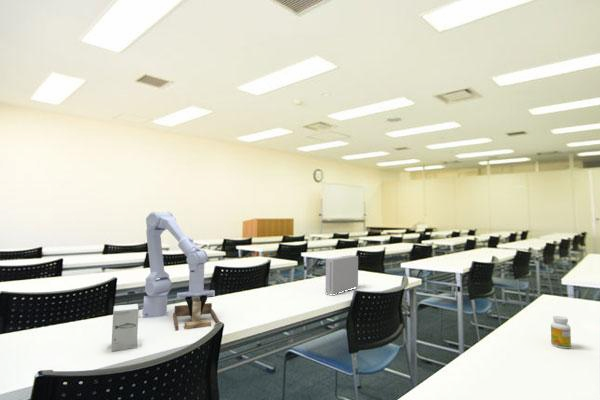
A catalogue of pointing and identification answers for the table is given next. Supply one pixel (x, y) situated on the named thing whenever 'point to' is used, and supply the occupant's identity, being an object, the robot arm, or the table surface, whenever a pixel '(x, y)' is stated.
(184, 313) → the walnut rack
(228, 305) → the table surface
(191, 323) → the upper oak offcut
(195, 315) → the light wood block
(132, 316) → the supplement box
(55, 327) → the table surface
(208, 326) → the lower oak offcut
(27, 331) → the table surface
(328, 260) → the game console
